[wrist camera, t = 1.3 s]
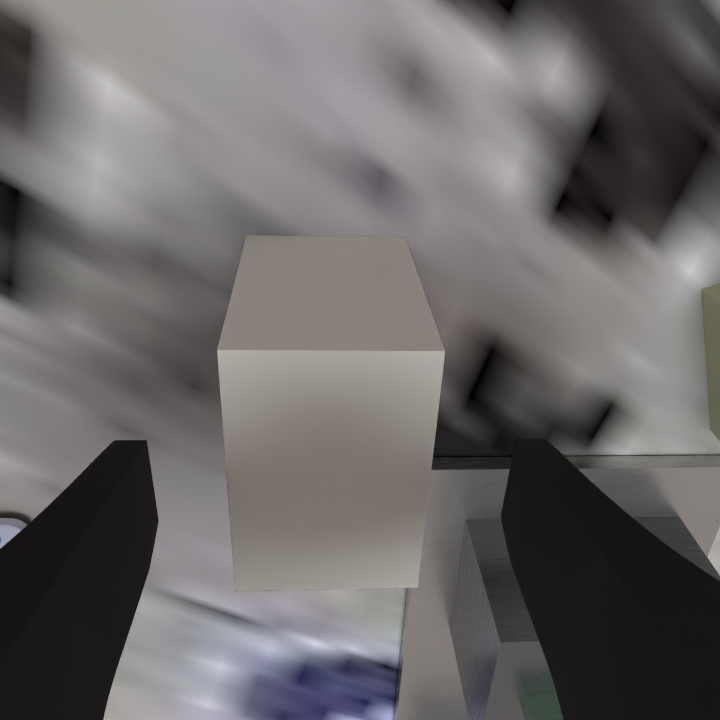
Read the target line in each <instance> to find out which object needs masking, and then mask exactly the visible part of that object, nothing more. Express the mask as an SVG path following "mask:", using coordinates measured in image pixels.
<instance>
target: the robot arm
mask: <svg viewBox="0 0 720 720" xmlns="http://www.w3.org/2000/svg"><path fill="white" fill-rule="evenodd" d="M501 521H502V526H503V531H504V536H505V541H506V545H507V549H508V553H509V558H510V562H511V565H512V568H513V571H514V574H515V577H516V579H517V582H518V585H519V588H520V590H521V593H522V596H523V599H524V601H525V604H526V607H527V610H528V612H529V615H530V618H531V620H532V623H533V626H534V629H535V631H536V634H537V637H538V639H539V642H540V645H541V648H542V650H543V653H544V656H545V658H546V661H547V664H548V667H549V670H550V673H551V676H552V679H553V683H554V686H555V689H556V693H557V697H558V701H559V705H560V709H561V712H562V716H563V720H720V581H719V580H717V579H716V578H714V577H713V576H711V575H709V574H708V573H706V572H705V571H704V570H702V569H701V568H699V567H698V566H696V565H695V564H693V563H692V562H690V561H689V560H688V559H686V558H685V557H683V556H682V555H680V554H679V553H677V552H676V551H675V550H673V549H672V548H671V547H669V546H668V545H666V544H665V543H664V542H662V541H661V540H660V539H659V538H657V537H656V536H655V535H654V534H652V533H651V532H650V531H648V530H647V529H646V528H645V527H643V526H642V525H641V524H640V523H638V522H637V521H636V520H635V519H633V518H632V517H631V516H630V515H629V514H628V513H626V512H625V511H624V510H623V509H622V508H620V507H619V506H618V505H617V504H616V503H615V502H613V501H612V500H611V499H610V498H609V497H608V496H607V495H606V494H604V493H603V492H602V491H601V490H600V489H599V488H598V487H597V486H596V485H594V484H593V483H592V482H591V481H590V480H589V479H588V478H587V477H586V476H585V475H584V474H583V473H582V472H580V471H579V470H578V469H577V468H576V467H575V466H574V465H573V464H572V463H571V462H570V461H569V460H568V459H567V458H565V457H564V456H563V455H562V454H561V453H560V452H559V451H558V450H557V449H556V448H555V447H554V446H553V445H551V444H550V443H549V442H548V441H547V440H546V439H515V444H514V449H513V454H512V460H511V465H510V470H509V475H508V481H507V486H506V491H505V496H504V501H503V507H502V512H501ZM157 526H158V514H157V507H156V500H155V493H154V487H153V480H152V473H151V466H150V459H149V453H148V446H147V440H114V441H113V442H112V443H111V444H110V445H109V446H108V447H107V448H106V449H105V450H104V451H103V452H102V453H101V454H100V455H99V456H98V457H97V458H96V459H95V460H94V461H93V462H92V463H91V464H90V465H89V466H88V467H87V468H86V469H85V470H84V471H83V472H82V473H81V474H80V475H79V476H78V477H77V478H76V479H75V480H74V481H73V482H72V483H71V484H70V485H69V486H68V487H67V488H66V489H65V490H64V491H63V492H62V493H61V494H60V495H59V496H58V497H57V498H56V499H55V500H54V501H53V502H52V503H51V504H50V505H49V506H48V507H47V508H46V509H44V510H43V511H42V512H41V513H40V514H39V515H38V516H37V517H36V518H35V519H34V520H33V521H31V522H30V523H29V524H28V525H27V524H26V523H24V522H23V521H21V520H19V519H14V518H0V720H103V718H104V713H105V709H106V704H107V700H108V696H109V693H110V689H111V686H112V682H113V679H114V675H115V672H116V669H117V666H118V663H119V660H120V657H121V654H122V651H123V648H124V645H125V642H126V639H127V636H128V633H129V630H130V627H131V624H132V621H133V618H134V615H135V612H136V609H137V606H138V603H139V600H140V596H141V593H142V590H143V587H144V584H145V581H146V578H147V575H148V571H149V568H150V563H151V558H152V553H153V548H154V543H155V537H156V532H157Z"/></svg>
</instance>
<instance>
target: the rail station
mask: <svg viewBox="0 0 720 720" xmlns="http://www.w3.org/2000/svg"><path fill="white" fill-rule="evenodd" d="M565 458H567V459H568V460H569V461H570V462H571V463H572V464H573V465H574V466H575V467H576V468H577V469H578V470H579V471H580V472H582V473H583V474H584V475H585V476H586V477H587V478H588V479H589V480H590V481H591V482H592V483H593V484H594V485H596V486H597V487H598V488H599V489H600V490H601V491H602V492H603V493H604V494H606V495H607V496H608V497H609V498H610V499H611V500H612V501H613V502H615V503H616V504H617V505H618V506H619V507H620V508H622V509H623V510H624V511H625V512H626V513H628V514H629V515H630V516H631V517H632V518H633V519H635V520H636V521H637V522H638V523H640V524H641V525H642V526H643V527H645V528H646V529H647V530H648V531H650V532H651V533H652V534H654V535H655V536H656V537H657V538H659V539H660V540H661V541H662V542H664V543H665V544H666V545H668V546H669V547H671V548H672V549H673V550H675V551H676V552H677V553H679V554H680V555H682V556H683V557H685V558H686V559H688V560H689V561H690V562H692V563H693V564H695V565H696V566H698V567H699V568H701V569H702V570H704V571H705V572H706V573H708V574H709V575H711V576H713V577H714V578H716V579H717V580H719V581H720V576H719V574H718V573H717V571H716V570H715V568H714V567H713V565H712V564H711V562H710V561H709V559H708V558H707V556H708V553H709V551H710V548H711V546H712V544H713V541H714V539H715V536H716V534H717V531H718V529H719V526H720V455H698V456H566V457H565ZM511 460H512V457H433V460H432V469H431V477H430V486H429V494H428V503H427V512H426V520H425V529H424V537H423V546H422V554H421V563H420V572H419V580H418V588H407V597H406V606H405V615H404V625H403V634H402V644H401V653H400V663H399V672H398V682H397V691H396V701H395V710H394V719H393V720H563V716H562V712H561V709H560V705H559V701H558V697H557V693H556V689H555V686H554V683H553V679H552V676H551V673H550V670H549V667H548V664H547V661H546V658H545V656H544V653H543V650H542V648H541V645H540V642H539V639H538V637H537V634H536V631H535V629H534V626H533V623H532V620H531V618H530V615H529V612H528V610H527V607H526V604H525V601H524V599H523V596H522V593H521V590H520V588H519V585H518V582H517V579H516V577H515V574H514V571H513V568H512V565H511V562H510V558H509V553H508V549H507V545H506V541H505V536H504V531H503V526H502V521H501V512H502V507H503V501H504V496H505V491H506V486H507V481H508V475H509V470H510V465H511Z"/></svg>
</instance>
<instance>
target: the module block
mask: <svg viewBox="0 0 720 720" xmlns="http://www.w3.org/2000/svg"><path fill="white" fill-rule="evenodd" d="M217 356H218V369H219V382H220V395H221V408H222V422H223V435H224V448H225V461H226V474H227V488H228V501H229V514H230V527H231V540H232V554H233V567H234V580H235V591H282V590H330V589H378V588H418V580H419V572H420V563H421V554H422V546H423V537H424V529H425V520H426V512H427V503H428V494H429V486H430V477H431V469H432V460H433V452H434V443H435V434H436V426H437V417H438V409H439V400H440V392H441V383H442V374H443V366H444V357H445V349H444V346H443V343H442V341H441V338H440V335H439V332H438V329H437V326H436V324H435V321H434V318H433V315H432V312H431V309H430V307H429V304H428V301H427V298H426V295H425V292H424V290H423V287H422V284H421V281H420V278H419V275H418V273H417V270H416V267H415V264H414V261H413V258H412V256H411V253H410V250H409V247H408V244H407V241H406V239H405V238H397V237H337V236H277V235H246V239H245V243H244V247H243V251H242V255H241V259H240V262H239V266H238V270H237V274H236V278H235V282H234V286H233V290H232V294H231V298H230V302H229V305H228V309H227V313H226V317H225V321H224V325H223V329H222V333H221V337H220V341H219V344H218V348H217Z"/></svg>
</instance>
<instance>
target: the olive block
mask: <svg viewBox="0 0 720 720" xmlns="http://www.w3.org/2000/svg"><path fill="white" fill-rule="evenodd" d="M702 304H703V320H704V336H705V352H706V368H707V384H708V399H709V415H710V430H711V431H712V432H713V433H714V434H715V435H716V437H717V438H718V439H719V440H720V284H718V285H715V286H711V287H708V288H705V289H702Z"/></svg>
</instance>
